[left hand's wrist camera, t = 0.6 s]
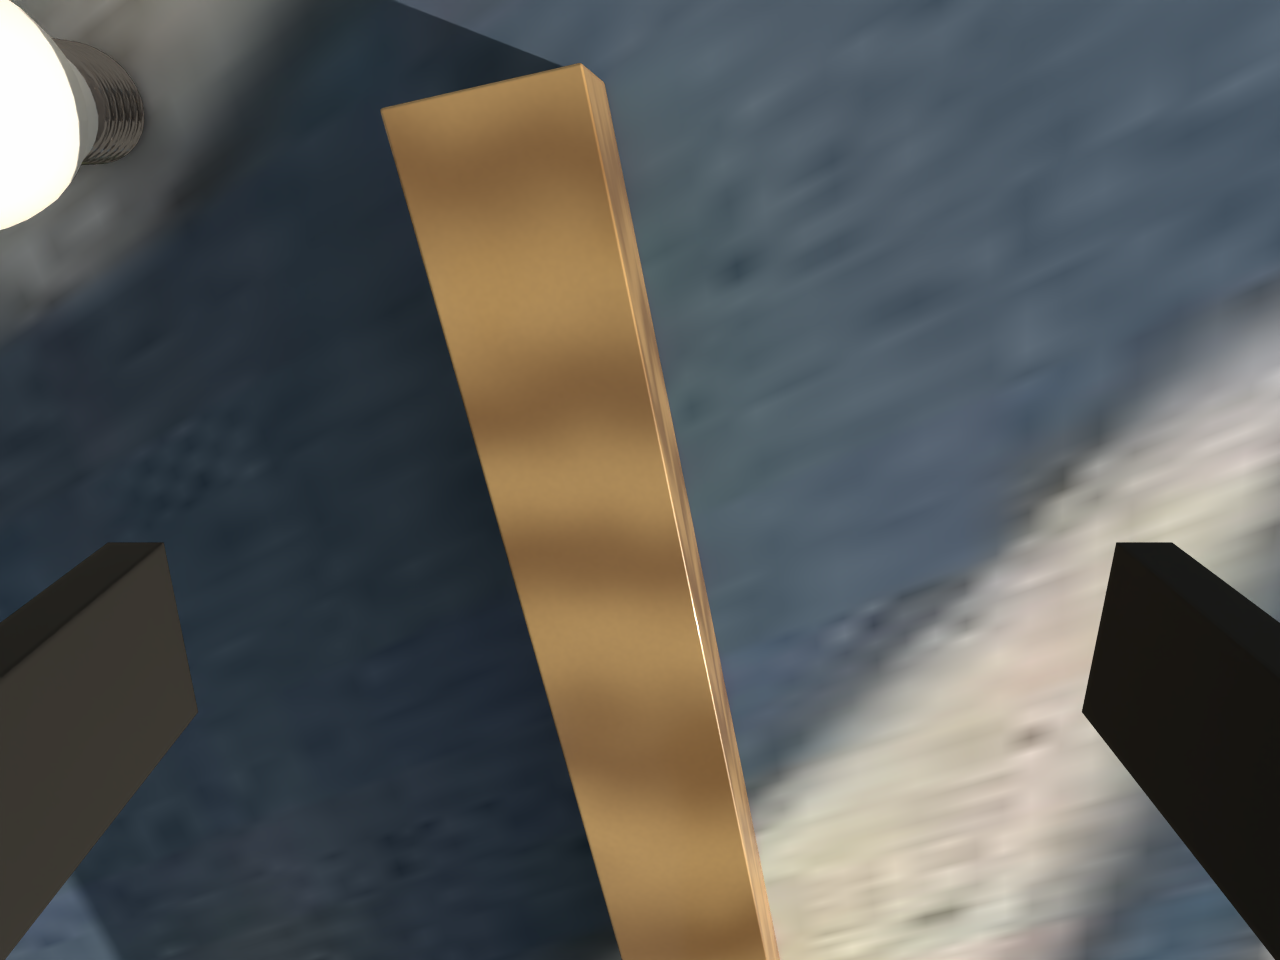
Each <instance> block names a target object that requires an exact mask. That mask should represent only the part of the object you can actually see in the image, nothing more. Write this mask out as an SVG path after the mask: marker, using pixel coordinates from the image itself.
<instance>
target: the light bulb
mask: <svg viewBox="0 0 1280 960" xmlns="http://www.w3.org/2000/svg"><path fill="white" fill-rule="evenodd" d="M143 125H144V110H143V104H142V100H141V97H140V95H139V92H138V90H137V88H136V86H135V84H134V82H133V81H132V79H131V78H130V77H129V75H128V74H127V72H126V71H125V70H124V69H123V68H122V67H121V66H120V65H119V64H118V63H117V62H116V61H114V60H113V59H112V58H111V57H109V56H108V55H106V54H105V53H103V52H101V51H99V50H98V49H96V48H94V47H91V46H89V45H86V44H82V43H78V42H74V41H67V40H60V39H53V38H51V37H50V36H49V35H48V34H47V33H46V32H45V31H44V30H43V29H42V28H41V27H40V26H39V25H38V24H37V23H36V22H35V21H34V20H33V19H32V18H31V17H30V16H29V15H28V14H27V13H26V12H25V11H24V10H23V9H21V8H20V7H18V6H17V5H15V4H14V3H13V2H11V1H10V0H0V230H2V229H5V228H9V227H11V226H14V225H16V224H18V223H21V222H23V221H25V220H28V219H29V218H31V217H33V216H34V215H36V214H38V213H39V212H41V211H42V210H44V209H45V208H46V207H48V206H49V205H50V204H52V203H53V202H54V201H56V200H57V199H58V198H59V197H60V195H61V194H62V193H63V192H64V190H65V189H66V188H67V187H68V185H69V184H70V183H71V181H72V180H73V179H74V177H75V176H76V174H77V172H78V170H79V168H80V166H81V165H89V164H104V163H109V162H113V161H116V160H118V159H120V158H122V157H124V156H125V155H127V154H128V153H129V152H130V151H131V150H132V149H133V148H134V147H135V146H136V144H137V143H138V141H139V138H140V136H141V134H142V131H143Z"/></svg>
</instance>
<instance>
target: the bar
mask: <svg viewBox="0 0 1280 960" xmlns="http://www.w3.org/2000/svg"><path fill="white" fill-rule="evenodd" d="M381 115H382V119H383V122H384V126H385V129H386V133H387V136H388V140H389V143H390V147H391V150H392V154H393V157H394V161H395V165H396V168H397V172H398V175H399V179H400V182H401V186H402V189H403V193H404V196H405V200H406V203H407V207H408V210H409V214H410V217H411V221H412V224H413V228H414V231H415V235H416V238H417V242H418V245H419V249H420V252H421V256H422V259H423V263H424V266H425V270H426V273H427V277H428V280H429V284H430V287H431V291H432V295H433V298H434V302H435V305H436V309H437V312H438V316H439V319H440V323H441V326H442V330H443V333H444V337H445V340H446V344H447V347H448V351H449V354H450V358H451V361H452V365H453V368H454V372H455V375H456V379H457V382H458V386H459V389H460V393H461V396H462V400H463V403H464V407H465V410H466V414H467V417H468V421H469V425H470V428H471V432H472V435H473V439H474V442H475V446H476V449H477V453H478V456H479V460H480V463H481V467H482V470H483V474H484V477H485V481H486V484H487V488H488V491H489V495H490V498H491V502H492V505H493V509H494V512H495V516H496V519H497V523H498V526H499V530H500V533H501V537H502V540H503V544H504V548H505V551H506V555H507V558H508V562H509V565H510V569H511V572H512V576H513V579H514V583H515V586H516V590H517V593H518V597H519V600H520V604H521V607H522V611H523V614H524V618H525V621H526V625H527V628H528V632H529V635H530V639H531V642H532V646H533V649H534V653H535V656H536V660H537V663H538V667H539V670H540V674H541V678H542V681H543V685H544V688H545V692H546V695H547V699H548V702H549V706H550V709H551V713H552V716H553V720H554V723H555V727H556V730H557V734H558V737H559V741H560V744H561V748H562V751H563V755H564V758H565V762H566V765H567V769H568V772H569V776H570V779H571V783H572V786H573V790H574V793H575V797H576V800H577V804H578V808H579V811H580V815H581V818H582V822H583V825H584V829H585V832H586V836H587V839H588V843H589V846H590V850H591V853H592V857H593V860H594V864H595V867H596V871H597V874H598V878H599V881H600V885H601V888H602V892H603V895H604V899H605V902H606V906H607V909H608V913H609V916H610V920H611V923H612V927H613V930H614V934H615V938H616V941H617V945H618V948H619V952H620V955H621V959H622V960H780V958H779V953H778V948H777V943H776V938H775V933H774V928H773V923H772V918H771V913H770V908H769V903H768V898H767V893H766V888H765V883H764V878H763V873H762V868H761V863H760V858H759V853H758V848H757V843H756V838H755V833H754V828H753V823H752V818H751V813H750V808H749V803H748V798H747V793H746V788H745V783H744V778H743V773H742V768H741V763H740V758H739V753H738V748H737V743H736V738H735V733H734V728H733V723H732V718H731V713H730V708H729V703H728V698H727V693H726V688H725V683H724V678H723V673H722V668H721V663H720V658H719V653H718V648H717V643H716V638H715V633H714V628H713V623H712V618H711V613H710V608H709V603H708V598H707V593H706V588H705V583H704V578H703V573H702V568H701V563H700V558H699V553H698V548H697V543H696V538H695V533H694V528H693V523H692V518H691V513H690V508H689V503H688V498H687V493H686V488H685V483H684V478H683V473H682V468H681V463H680V458H679V453H678V448H677V443H676V438H675V433H674V428H673V423H672V418H671V413H670V408H669V403H668V398H667V393H666V388H665V383H664V378H663V373H662V368H661V363H660V358H659V353H658V348H657V343H656V338H655V333H654V328H653V323H652V318H651V313H650V308H649V303H648V298H647V293H646V288H645V283H644V278H643V273H642V268H641V263H640V258H639V253H638V248H637V243H636V238H635V233H634V228H633V223H632V218H631V213H630V209H629V204H628V199H627V194H626V189H625V184H624V179H623V174H622V169H621V164H620V159H619V154H618V149H617V144H616V139H615V134H614V129H613V124H612V119H611V114H610V109H609V104H608V99H607V94H606V89H605V84H604V82H603V81H602V80H600V79H599V78H598V77H597V76H596V75H595V74H593V73H592V72H591V71H590V70H589V69H587V68H586V67H585V66H584V65H583V64H581V63H577V64H573V65H569V66H564V67H560V68H556V69H551V70H547V71H542V72H538V73H534V74H529V75H525V76H520V77H516V78H512V79H507V80H503V81H499V82H494V83H490V84H485V85H481V86H477V87H472V88H468V89H464V90H459V91H455V92H450V93H446V94H442V95H437V96H433V97H429V98H424V99H420V100H415V101H411V102H407V103H402V104H398V105H394V106H389V107H385V108H382V109H381Z"/></svg>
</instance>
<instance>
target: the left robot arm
mask: <svg viewBox="0 0 1280 960" xmlns="http://www.w3.org/2000/svg"><path fill="white" fill-rule="evenodd" d="M197 713H198V709H197V704H196V699H195V695H194V690H193V685H192V680H191V675H190V670H189V665H188V660H187V655H186V650H185V645H184V640H183V636H182V631H181V626H180V621H179V616H178V611H177V606H176V601H175V596H174V591H173V586H172V581H171V576H170V572H169V567H168V562H167V557H166V552H165V547H164V543H107V544H105V545H104V546H103V547H101V548H100V549H99V550H97V551H96V552H95V553H93V554H92V555H91V556H89V557H88V558H87V559H85V560H84V561H83V562H81V563H80V564H79V565H77V566H76V567H75V568H73V569H72V570H71V571H69V572H68V573H67V574H65V575H64V576H62V577H61V578H60V579H58V580H57V581H56V582H54V583H53V584H52V585H50V586H49V587H48V588H46V589H45V590H44V591H42V592H41V593H40V594H38V595H37V596H36V597H34V598H33V599H32V600H30V601H29V602H28V603H26V604H25V605H24V606H22V607H21V608H20V609H18V610H17V611H16V612H14V613H13V614H12V615H10V616H9V617H8V618H6V619H5V620H4V621H2V622H1V623H0V960H5V959H6V958H7V956H8V955H9V954H10V952H11V951H12V950H13V949H14V947H15V946H16V945H17V943H18V942H19V941H20V940H21V938H22V937H23V936H24V934H25V933H26V932H27V931H28V929H29V928H30V927H31V925H32V924H33V923H34V922H35V920H36V919H37V918H38V917H39V915H40V914H41V913H42V911H43V910H44V909H45V908H46V906H47V905H48V904H49V902H50V901H51V900H52V899H53V897H54V896H55V895H56V893H57V892H58V891H59V890H60V888H61V887H62V886H63V884H64V883H65V882H66V881H67V879H68V878H69V877H70V875H71V874H72V873H73V872H74V870H75V869H76V868H77V867H78V865H79V864H80V863H81V861H82V860H83V859H84V858H85V856H86V855H87V854H88V852H89V851H90V850H91V849H92V847H93V846H94V845H95V843H96V842H97V841H98V840H99V838H100V837H101V836H102V834H103V833H104V832H105V831H106V829H107V828H108V827H109V825H110V824H111V823H112V822H113V820H114V819H115V818H116V817H117V815H118V814H119V813H120V811H121V810H122V809H123V808H124V806H125V805H126V804H127V802H128V801H129V800H130V799H131V797H132V796H133V795H134V793H135V792H136V791H137V790H138V788H139V787H140V786H141V784H142V783H143V782H144V781H145V779H146V778H147V777H148V775H149V774H150V773H151V772H152V770H153V769H154V768H155V767H156V765H157V764H158V763H159V761H160V760H161V759H162V758H163V756H164V755H165V754H166V752H167V751H168V750H169V749H170V747H171V746H172V745H173V743H174V742H175V741H176V740H177V738H178V737H179V736H180V734H181V733H182V732H183V731H184V729H185V728H186V727H187V725H188V724H189V723H190V722H191V720H192V719H193V718H194V717H195V715H196V714H197ZM1082 713H1083V714H1084V715H1085V717H1086V718H1087V719H1088V720H1089V722H1090V723H1091V724H1092V725H1093V727H1094V728H1095V729H1096V731H1097V732H1098V733H1099V734H1100V736H1101V737H1102V738H1103V740H1104V741H1105V742H1106V743H1107V745H1108V746H1109V747H1110V749H1111V750H1112V751H1113V752H1114V754H1115V755H1116V756H1117V758H1118V759H1119V760H1120V761H1121V763H1122V764H1123V765H1124V767H1125V768H1126V769H1127V770H1128V772H1129V773H1130V774H1131V775H1132V777H1133V778H1134V779H1135V781H1136V782H1137V783H1138V784H1139V786H1140V787H1141V788H1142V790H1143V791H1144V792H1145V793H1146V795H1147V796H1148V797H1149V799H1150V800H1151V801H1152V802H1153V804H1154V805H1155V806H1156V808H1157V809H1158V810H1159V811H1160V813H1161V814H1162V815H1163V817H1164V818H1165V819H1166V820H1167V822H1168V823H1169V824H1170V825H1171V827H1172V828H1173V829H1174V831H1175V832H1176V833H1177V834H1178V836H1179V837H1180V838H1181V840H1182V841H1183V842H1184V843H1185V845H1186V846H1187V847H1188V849H1189V850H1190V851H1191V852H1192V854H1193V855H1194V856H1195V858H1196V859H1197V860H1198V861H1199V863H1200V864H1201V865H1202V867H1203V868H1204V869H1205V870H1206V872H1207V873H1208V874H1209V875H1210V877H1211V878H1212V879H1213V881H1214V882H1215V883H1216V884H1217V886H1218V887H1219V888H1220V890H1221V891H1222V892H1223V893H1224V895H1225V896H1226V897H1227V899H1228V900H1229V901H1230V902H1231V904H1232V905H1233V906H1234V908H1235V909H1236V910H1237V911H1238V913H1239V914H1240V915H1241V917H1242V918H1243V919H1244V920H1245V922H1246V923H1247V924H1248V925H1249V927H1250V928H1251V929H1252V931H1253V932H1254V933H1255V934H1256V936H1257V937H1258V938H1259V940H1260V941H1261V942H1262V943H1263V945H1264V946H1265V947H1266V949H1267V950H1268V951H1269V952H1270V954H1271V955H1272V956H1273V958H1274V959H1275V960H1280V623H1279V622H1278V621H1276V620H1275V619H1274V618H1272V617H1271V616H1270V615H1268V614H1267V613H1266V612H1264V611H1263V610H1262V609H1260V608H1259V607H1258V606H1256V605H1255V604H1254V603H1252V602H1251V601H1250V600H1248V599H1247V598H1246V597H1244V596H1243V595H1242V594H1240V593H1239V592H1238V591H1236V590H1235V589H1234V588H1232V587H1231V586H1230V585H1228V584H1227V583H1226V582H1224V581H1223V580H1222V579H1220V578H1219V577H1217V576H1216V575H1215V574H1213V573H1212V572H1211V571H1209V570H1208V569H1207V568H1205V567H1204V566H1203V565H1201V564H1200V563H1199V562H1197V561H1196V560H1195V559H1193V558H1192V557H1191V556H1189V555H1188V554H1187V553H1185V552H1184V551H1183V550H1181V549H1180V548H1179V547H1177V546H1176V545H1175V544H1173V543H1116V547H1115V552H1114V557H1113V562H1112V567H1111V572H1110V576H1109V581H1108V586H1107V591H1106V596H1105V601H1104V606H1103V611H1102V616H1101V621H1100V626H1099V631H1098V635H1097V640H1096V645H1095V650H1094V655H1093V660H1092V665H1091V670H1090V675H1089V680H1088V685H1087V690H1086V695H1085V699H1084V704H1083V709H1082Z"/></svg>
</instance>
